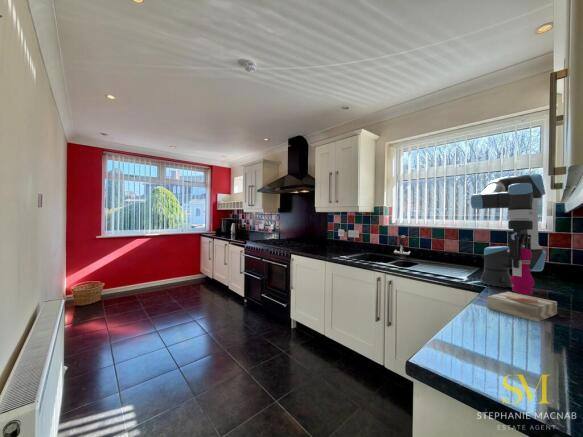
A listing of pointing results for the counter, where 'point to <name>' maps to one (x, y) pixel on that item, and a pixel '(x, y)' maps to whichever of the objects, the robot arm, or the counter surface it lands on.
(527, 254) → the pepper mill
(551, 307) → the birch stand
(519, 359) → the counter surface
